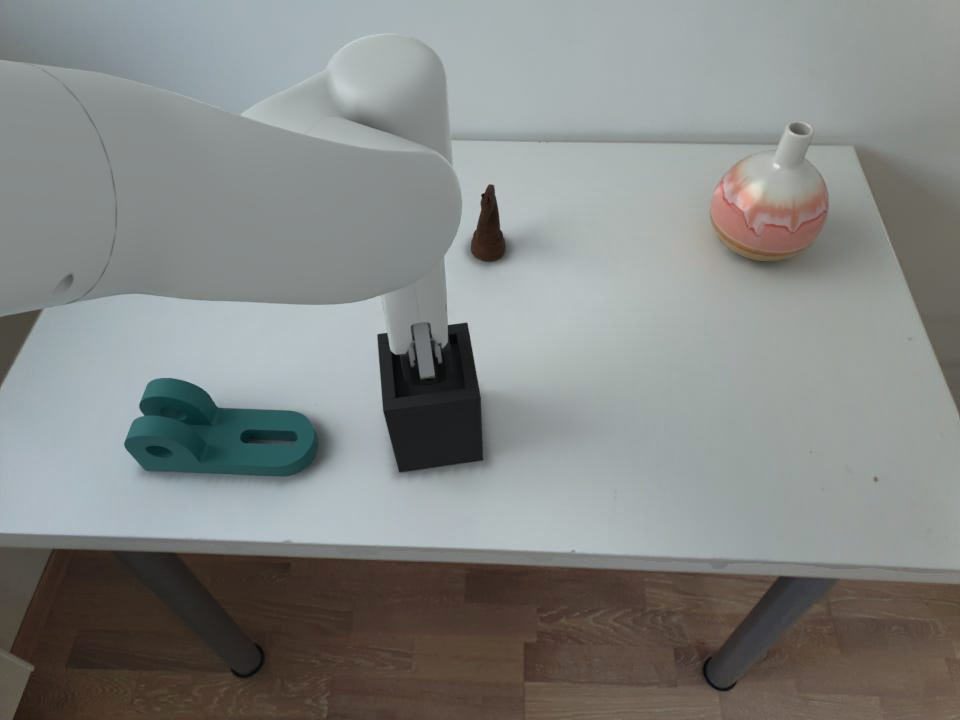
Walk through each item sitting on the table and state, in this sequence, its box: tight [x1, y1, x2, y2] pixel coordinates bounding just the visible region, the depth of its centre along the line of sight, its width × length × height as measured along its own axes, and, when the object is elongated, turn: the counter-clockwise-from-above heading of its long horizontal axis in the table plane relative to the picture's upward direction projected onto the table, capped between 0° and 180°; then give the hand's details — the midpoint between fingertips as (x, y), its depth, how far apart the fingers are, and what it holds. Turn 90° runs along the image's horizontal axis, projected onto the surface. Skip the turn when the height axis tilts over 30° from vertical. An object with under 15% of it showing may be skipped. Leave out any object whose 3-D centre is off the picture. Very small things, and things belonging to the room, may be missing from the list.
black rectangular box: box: [376, 322, 484, 473], centre depth 72 cm, size 9×9×12 cm
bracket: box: [123, 377, 319, 477], centre depth 74 cm, size 18×7×8 cm, turn 87°
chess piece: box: [470, 183, 507, 263], centre depth 89 cm, size 5×5×10 cm
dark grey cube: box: [400, 335, 453, 382], centre depth 65 cm, size 4×4×4 cm
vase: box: [709, 119, 830, 262], centre depth 86 cm, size 14×14×18 cm
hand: (426, 357), depth 66 cm, fingers closed on dark grey cube, 4 cm apart
